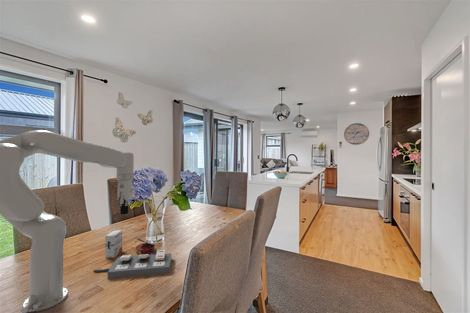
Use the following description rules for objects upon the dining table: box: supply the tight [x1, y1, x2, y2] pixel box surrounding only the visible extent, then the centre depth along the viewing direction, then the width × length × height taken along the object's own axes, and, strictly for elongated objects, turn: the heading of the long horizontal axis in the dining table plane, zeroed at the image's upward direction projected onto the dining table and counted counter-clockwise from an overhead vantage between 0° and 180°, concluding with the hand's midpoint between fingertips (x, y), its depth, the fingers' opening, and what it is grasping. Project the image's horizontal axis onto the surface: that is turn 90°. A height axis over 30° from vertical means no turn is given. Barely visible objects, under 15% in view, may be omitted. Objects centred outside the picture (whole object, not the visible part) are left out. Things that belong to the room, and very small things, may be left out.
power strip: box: [93, 252, 172, 280], centre depth 104 cm, size 14×34×3 cm, turn 102°
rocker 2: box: [137, 254, 150, 259], centre depth 106 cm, size 6×4×1 cm, turn 13°
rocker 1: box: [119, 254, 133, 261], centre depth 105 cm, size 6×4×1 cm, turn 13°
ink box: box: [104, 229, 123, 259], centre depth 118 cm, size 8×5×12 cm, turn 0°
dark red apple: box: [135, 237, 156, 256], centre depth 123 cm, size 11×10×10 cm
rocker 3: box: [155, 249, 166, 260], centre depth 108 cm, size 6×4×1 cm, turn 12°
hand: (124, 213), depth 108 cm, fingers closed
